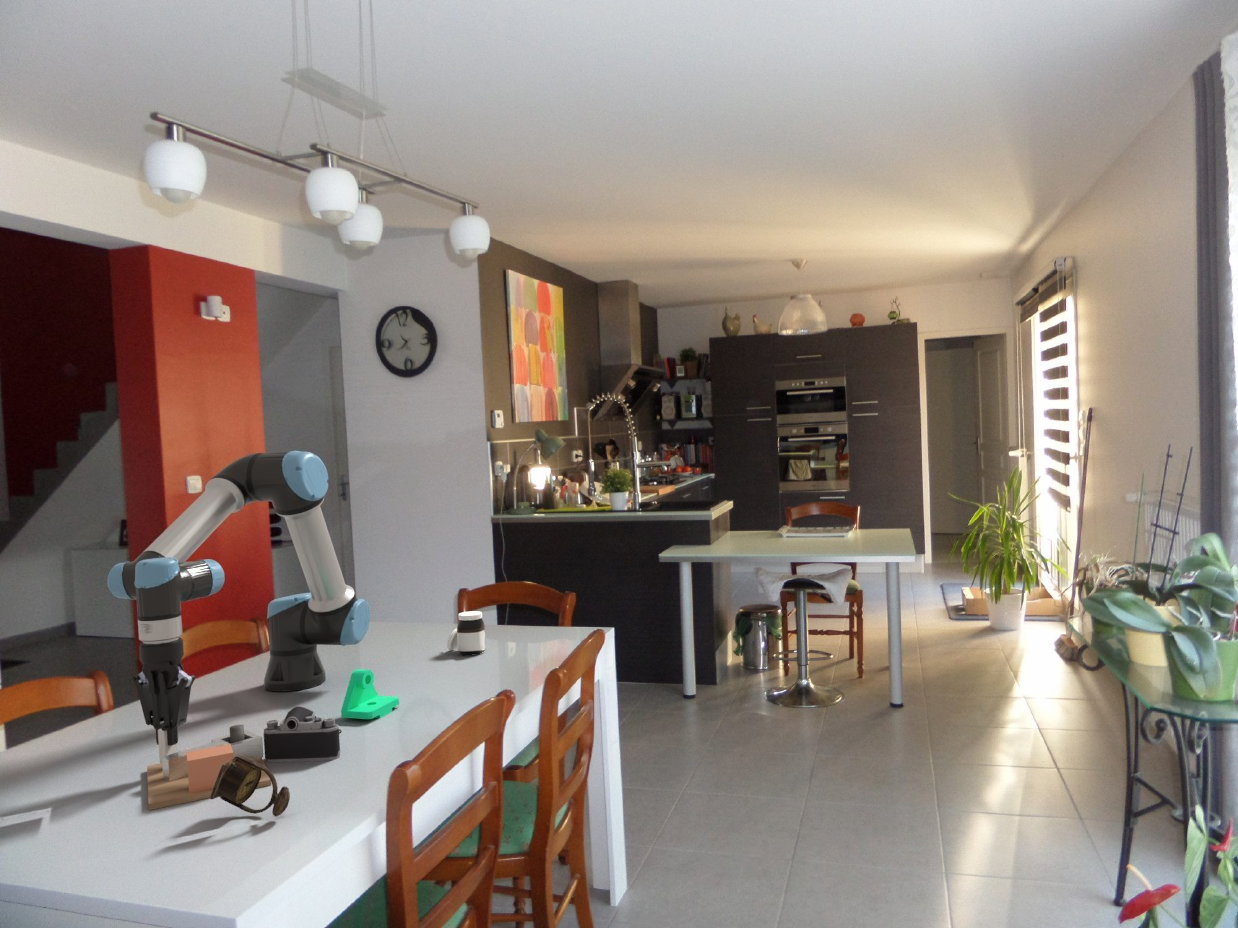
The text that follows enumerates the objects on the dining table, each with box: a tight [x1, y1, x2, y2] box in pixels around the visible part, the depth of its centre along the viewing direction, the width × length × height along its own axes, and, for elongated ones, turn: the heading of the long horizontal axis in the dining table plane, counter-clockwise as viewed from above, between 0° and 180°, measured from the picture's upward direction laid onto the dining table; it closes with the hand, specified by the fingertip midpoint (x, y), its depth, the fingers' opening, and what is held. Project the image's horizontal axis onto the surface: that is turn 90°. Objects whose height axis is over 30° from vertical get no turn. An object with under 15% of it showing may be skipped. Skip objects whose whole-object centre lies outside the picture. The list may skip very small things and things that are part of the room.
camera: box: [263, 705, 343, 763], centre depth 183 cm, size 16×8×10 cm, turn 87°
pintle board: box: [146, 724, 272, 811], centre depth 172 cm, size 22×20×7 cm
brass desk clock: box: [209, 755, 291, 817], centre depth 154 cm, size 7×13×10 cm, turn 95°
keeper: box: [186, 744, 234, 793], centre depth 166 cm, size 6×8×6 cm
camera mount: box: [340, 668, 400, 720], centre depth 208 cm, size 12×8×10 cm, turn 160°
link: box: [162, 729, 264, 781], centre depth 176 cm, size 17×7×4 cm, turn 137°
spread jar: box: [446, 610, 487, 656], centre depth 264 cm, size 12×11×12 cm
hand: (168, 760), depth 175 cm, fingers closed
